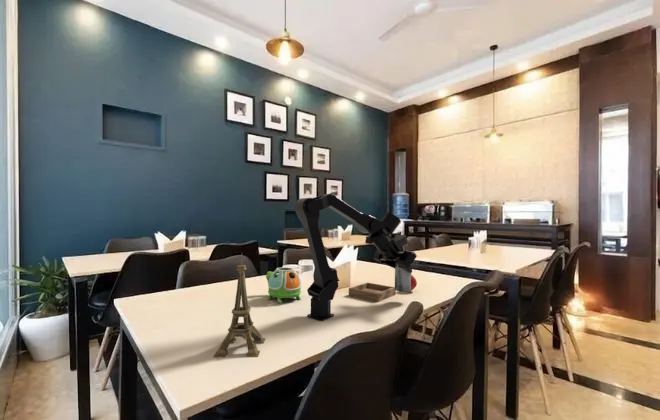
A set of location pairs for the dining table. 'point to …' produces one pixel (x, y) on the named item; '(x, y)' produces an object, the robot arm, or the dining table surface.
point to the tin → (402, 278)
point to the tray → (372, 291)
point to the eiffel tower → (241, 328)
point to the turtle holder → (283, 284)
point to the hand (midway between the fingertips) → (405, 270)
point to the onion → (413, 282)
